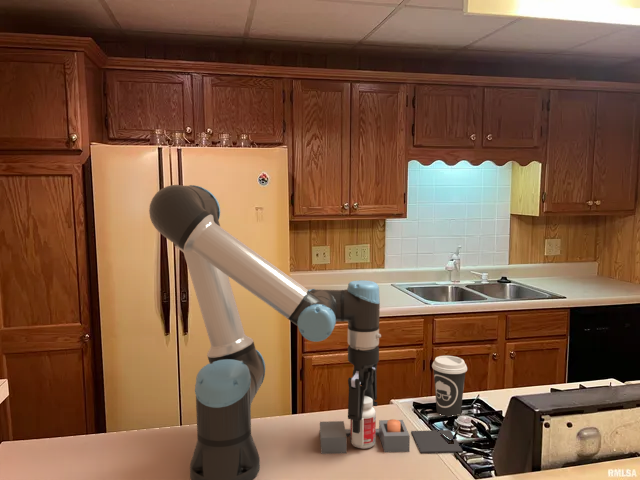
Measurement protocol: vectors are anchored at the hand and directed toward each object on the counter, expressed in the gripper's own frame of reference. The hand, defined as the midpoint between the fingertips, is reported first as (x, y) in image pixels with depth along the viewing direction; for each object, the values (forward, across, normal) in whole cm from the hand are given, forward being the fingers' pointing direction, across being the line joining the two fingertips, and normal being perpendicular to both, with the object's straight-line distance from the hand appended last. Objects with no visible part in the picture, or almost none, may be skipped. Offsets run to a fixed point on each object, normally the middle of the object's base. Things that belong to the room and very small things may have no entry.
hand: (362, 437), depth 117 cm
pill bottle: (+2, 0, 0) cm, 2 cm away
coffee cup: (+2, +26, -16) cm, 31 cm away
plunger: (+1, +4, -7) cm, 8 cm away
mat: (+2, +8, -16) cm, 18 cm away
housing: (+2, +1, 0) cm, 2 cm away
